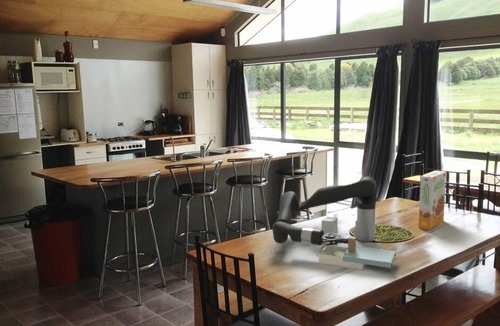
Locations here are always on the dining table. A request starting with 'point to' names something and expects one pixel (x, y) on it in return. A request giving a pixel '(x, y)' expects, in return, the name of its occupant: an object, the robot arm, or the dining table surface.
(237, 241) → the dining table surface
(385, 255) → the lid
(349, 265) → the box
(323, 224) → the skincare box
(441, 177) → the cereal box
